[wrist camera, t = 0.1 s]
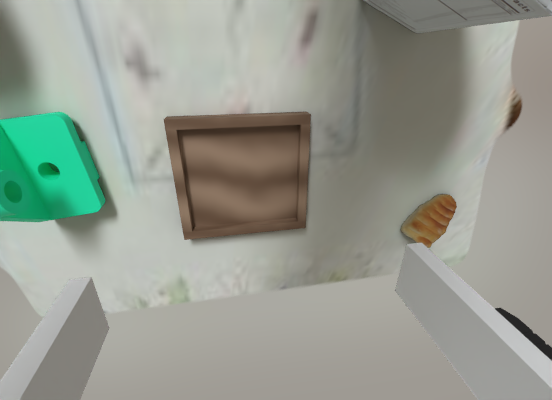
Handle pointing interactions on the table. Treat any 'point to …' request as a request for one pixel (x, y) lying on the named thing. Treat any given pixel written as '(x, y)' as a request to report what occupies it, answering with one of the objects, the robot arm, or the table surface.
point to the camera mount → (45, 170)
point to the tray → (240, 172)
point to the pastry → (430, 220)
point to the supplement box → (459, 12)
